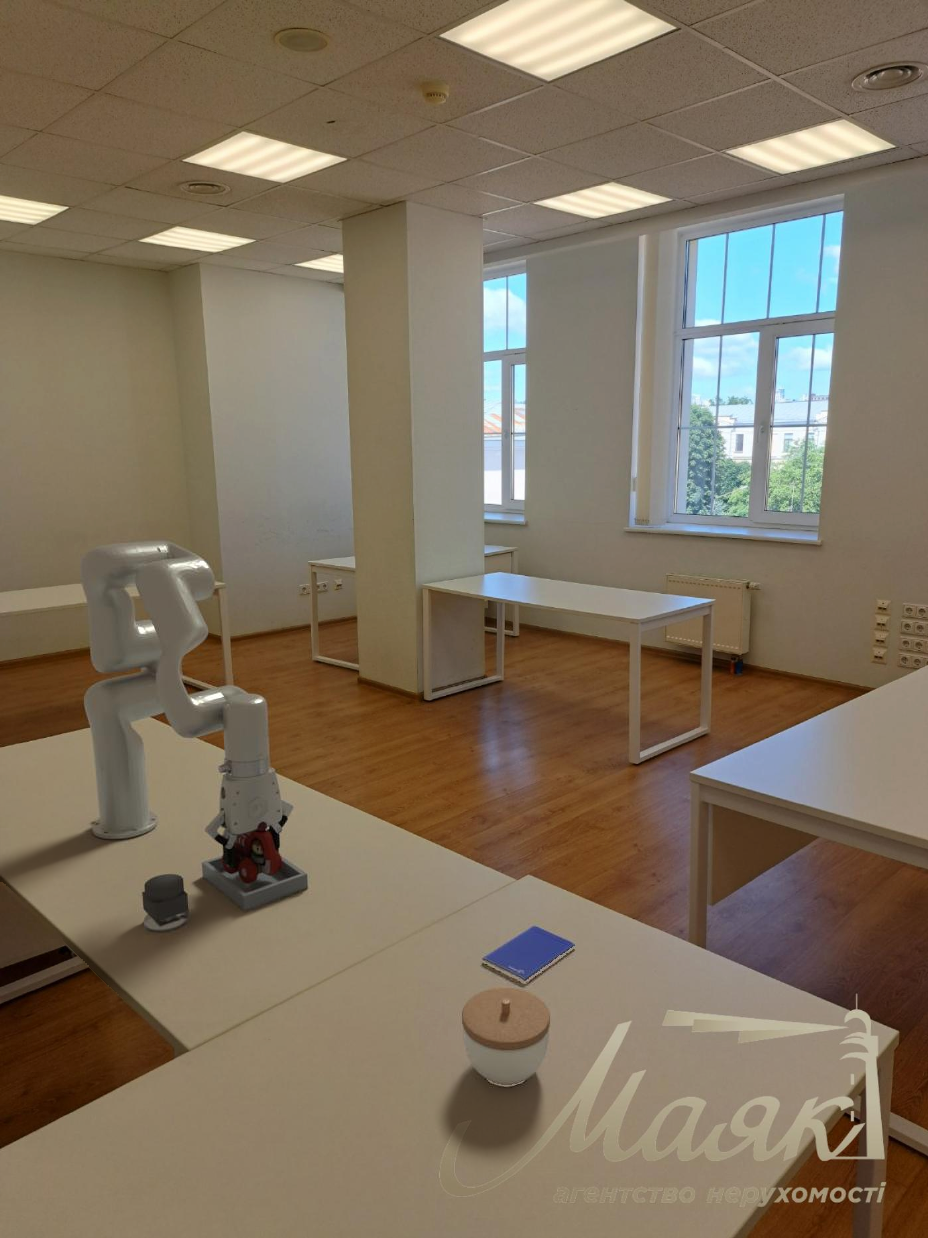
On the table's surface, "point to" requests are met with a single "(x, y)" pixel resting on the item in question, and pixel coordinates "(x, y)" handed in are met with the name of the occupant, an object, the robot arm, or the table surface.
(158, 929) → the silver flared round stand
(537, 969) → the hard drive
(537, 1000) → the lidded jar
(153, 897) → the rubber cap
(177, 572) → the robot arm
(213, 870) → the grey shallow rectangular tray
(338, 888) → the table surface
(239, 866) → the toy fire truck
